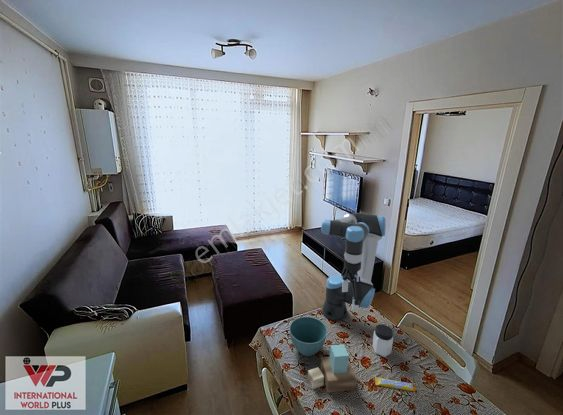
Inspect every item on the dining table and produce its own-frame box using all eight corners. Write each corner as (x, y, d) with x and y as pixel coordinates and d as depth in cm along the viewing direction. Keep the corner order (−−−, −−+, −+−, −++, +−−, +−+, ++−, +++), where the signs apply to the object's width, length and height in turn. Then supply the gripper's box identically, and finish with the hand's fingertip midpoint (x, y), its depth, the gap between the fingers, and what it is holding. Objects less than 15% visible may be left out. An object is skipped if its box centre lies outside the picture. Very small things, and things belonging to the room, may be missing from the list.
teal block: (329, 361, 115) (330, 345, 113) (342, 360, 116) (343, 344, 113) (333, 373, 109) (334, 356, 107) (347, 372, 110) (348, 355, 107)
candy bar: (414, 384, 112) (414, 381, 111) (417, 394, 108) (417, 390, 107) (373, 377, 115) (373, 374, 114) (374, 386, 111) (375, 383, 110)
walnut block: (320, 367, 119) (321, 357, 118) (345, 365, 120) (346, 354, 119) (327, 392, 108) (328, 381, 106) (355, 389, 109) (356, 378, 107)
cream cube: (307, 379, 114) (308, 370, 112) (317, 375, 115) (318, 366, 114) (313, 389, 109) (313, 380, 108) (323, 385, 111) (324, 376, 109)
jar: (383, 359, 124) (385, 339, 120) (369, 348, 130) (371, 328, 127) (394, 351, 128) (397, 331, 125) (380, 341, 135) (382, 321, 132)
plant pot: (283, 356, 125) (283, 335, 122) (297, 331, 141) (298, 312, 138) (318, 370, 118) (320, 348, 114) (330, 343, 133) (331, 323, 130)
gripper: (336, 248, 128) (334, 285, 134) (355, 275, 104) (351, 319, 110) (350, 247, 129) (348, 284, 135) (373, 274, 105) (368, 317, 111)
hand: (349, 300), depth 123 cm, fingers open, 13 cm apart
